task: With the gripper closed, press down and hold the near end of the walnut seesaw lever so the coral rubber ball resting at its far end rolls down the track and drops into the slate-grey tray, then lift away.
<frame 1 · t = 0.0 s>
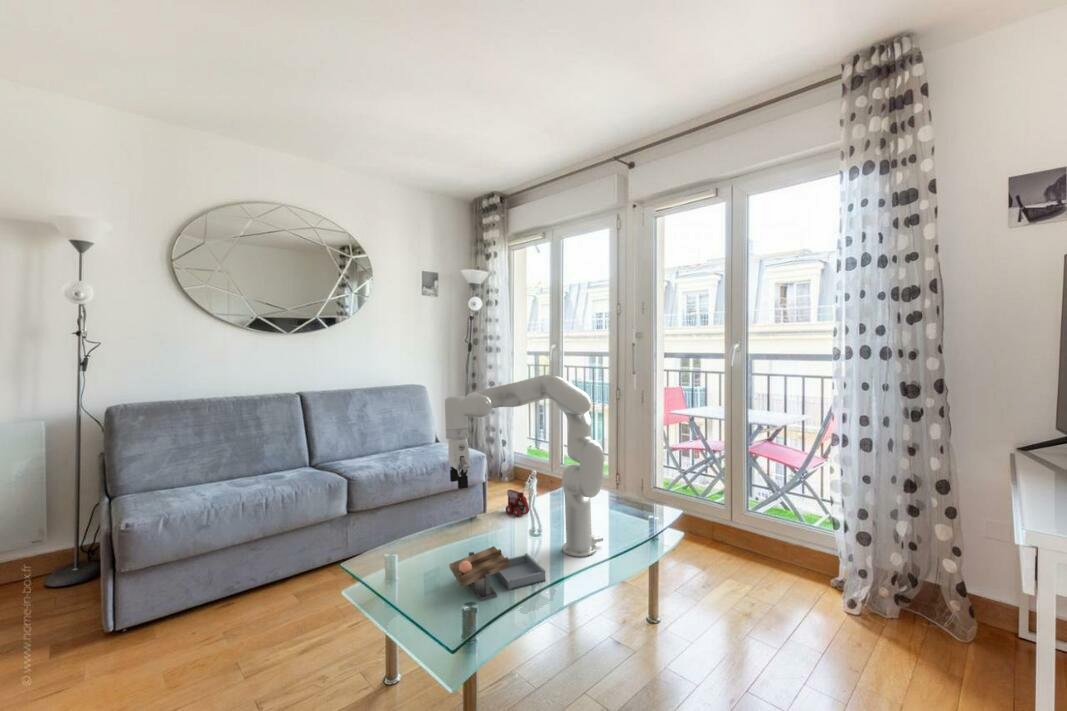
hand: (459, 484, 157), 31 cm above the table, tool pointing down, fingers open, 9 cm apart
red toy vehicle: (517, 514, 218), on the table
ball: (465, 567, 147), point 8 cm above the table, tilted 6°, touching lever
lever: (478, 562, 152), point 7 cm above the table, hinge at 10.0°, touching ball
tray: (518, 575, 157), on the table
lever stand: (479, 585, 152), on the table
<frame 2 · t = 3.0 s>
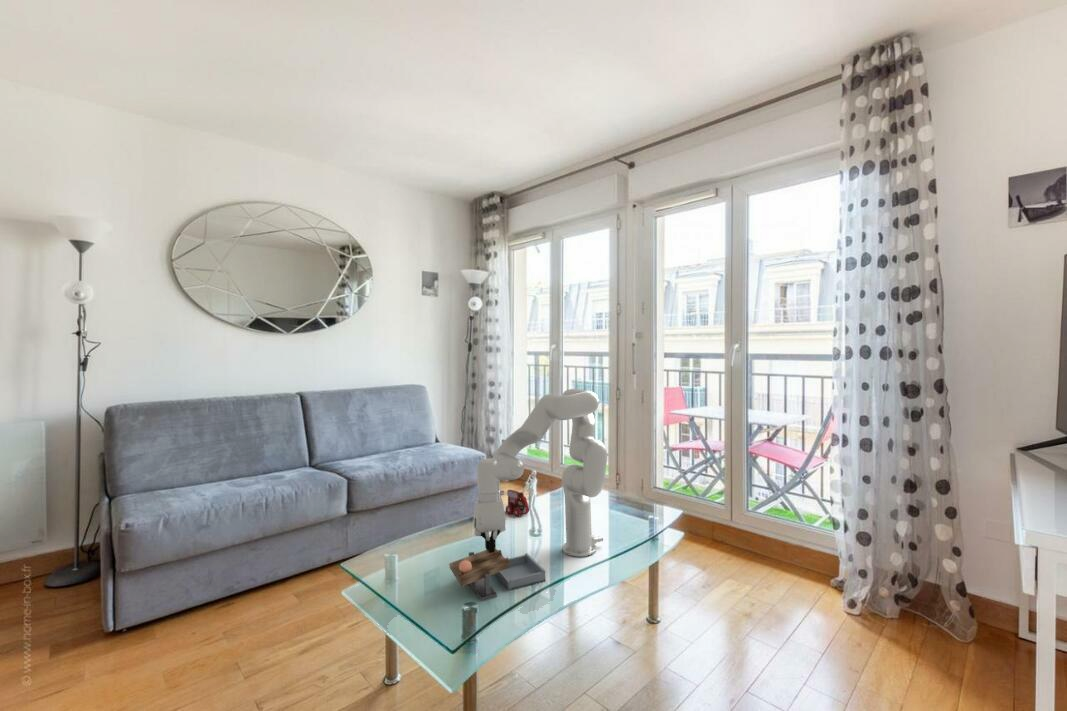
hand: (490, 550, 159), 8 cm above the table, tool pointing down, fingers closed
lever: (478, 562, 152), point 7 cm above the table, hinge at 8.6°, touching ball, gripper
everything else where it was.
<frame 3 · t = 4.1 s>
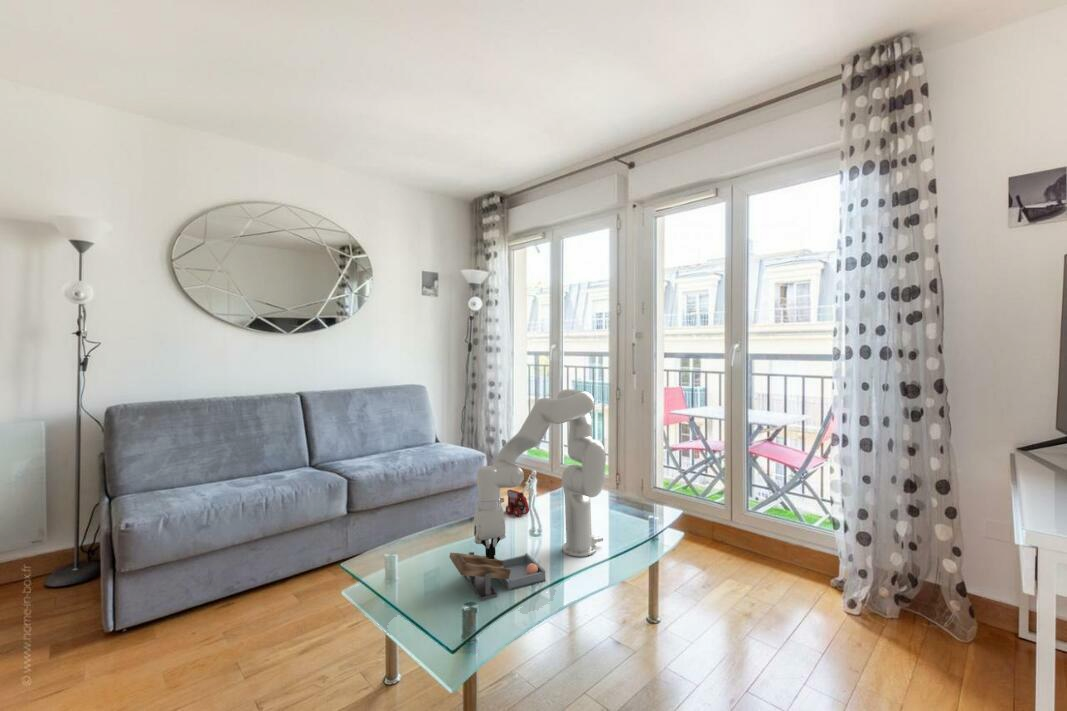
hand: (490, 558, 159), 6 cm above the table, tool pointing down, fingers closed
ball: (532, 569, 156), point 3 cm above the table, tilted 39°, touching tray
lever: (479, 562, 152), point 7 cm above the table, hinge at -17.4°, touching gripper
everything else where it was.
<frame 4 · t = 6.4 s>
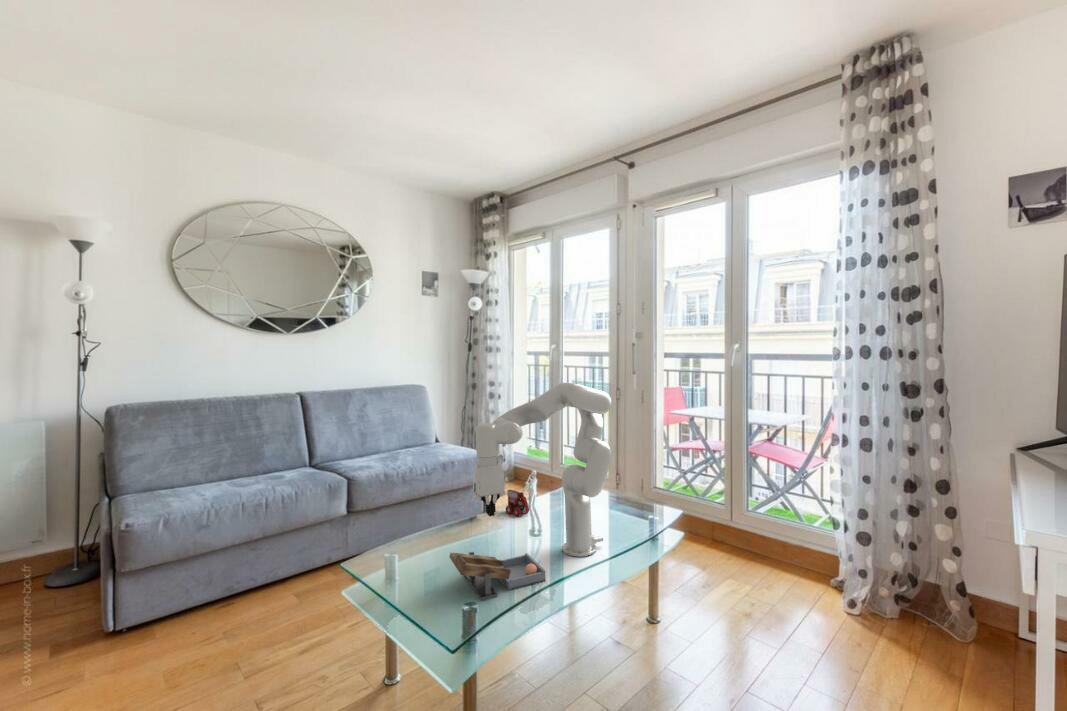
hand: (490, 514, 159), 20 cm above the table, tool pointing down, fingers closed
ball: (531, 570, 156), point 3 cm above the table, tilted 52°, touching tray
lever: (479, 562, 152), point 7 cm above the table, hinge at -17.4°
everything else where it was.
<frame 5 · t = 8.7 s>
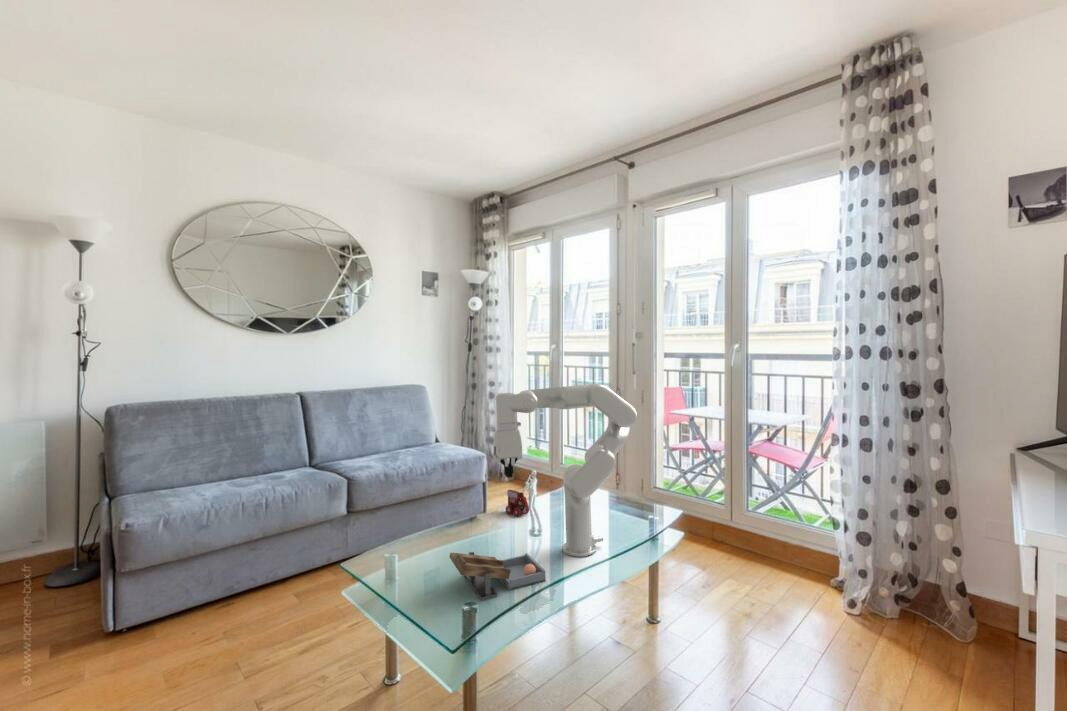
hand: (509, 476, 173), 29 cm above the table, tool pointing down, fingers closed
ball: (529, 570, 156), point 3 cm above the table, tilted 64°, touching tray
everything else where it was.
at the end: ball inside the target area (4.3 cm from its centre), point 2.6 cm above the table; lever at -17° (first picture: +10°) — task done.
